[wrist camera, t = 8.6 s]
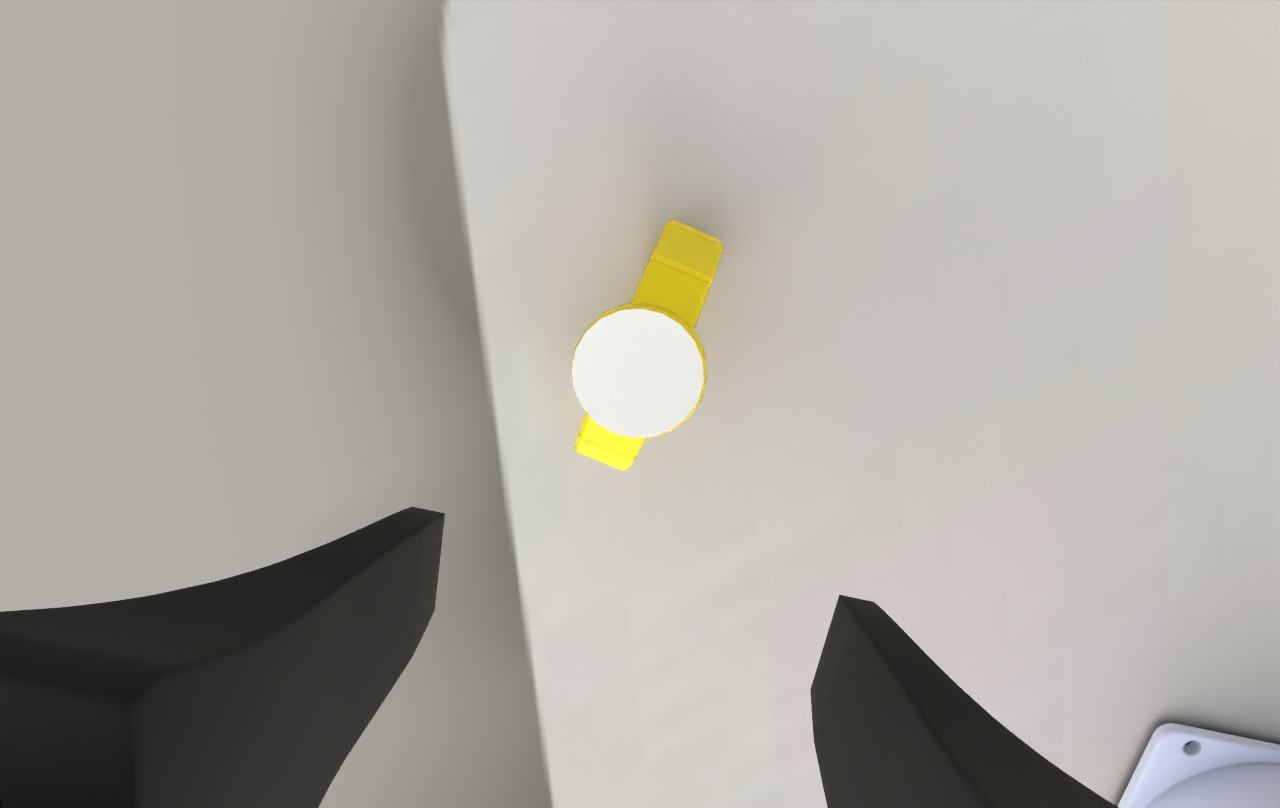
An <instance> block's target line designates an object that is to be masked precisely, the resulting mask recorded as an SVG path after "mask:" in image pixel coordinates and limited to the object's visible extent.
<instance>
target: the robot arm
mask: <svg viewBox="0 0 1280 808" xmlns="http://www.w3.org/2000/svg"><path fill="white" fill-rule="evenodd" d="M444 517H445V514H444V513H440V512H435V511H430V510H425V509H420V508H416V507H410V508H407V509H405V510H402V511H400V512H397V513H395V514H393V515H390V516H388V517H386V518H384V519H381V520H379V521H377V522H375V523H373V524H370V525H368V526H366V527H364V528H362V529H359V530H357V531H355V532H353V533H350V534H348V535H346V536H344V537H341V538H339V539H337V540H335V541H332V542H330V543H327V544H325V545H322V546H320V547H317V548H315V549H312V550H309V551H307V552H305V553H302V554H299V555H297V556H294V557H292V558H289V559H286V560H284V561H281V562H278V563H275V564H273V565H270V566H267V567H264V568H261V569H258V570H255V571H251V572H247V573H244V574H241V575H237V576H234V577H230V578H227V579H223V580H220V581H215V582H211V583H207V584H202V585H198V586H193V587H188V588H184V589H179V590H175V591H170V592H165V593H161V594H156V595H151V596H146V597H139V598H133V599H126V600H120V601H112V602H105V603H97V604H89V605H81V606H71V607H62V608H50V609H49V608H48V609H34V610H20V611H6V612H0V808H318V807H319V805H320V803H321V801H322V799H323V797H324V795H325V794H326V792H327V790H328V788H329V786H330V784H331V782H332V780H333V779H334V777H335V775H336V774H337V772H338V770H339V769H340V767H341V765H342V764H343V762H344V760H345V759H346V757H347V755H348V754H349V752H350V751H351V749H352V748H353V746H354V745H355V743H356V742H357V740H358V739H359V737H360V736H361V734H362V733H363V731H364V730H365V728H366V727H367V725H368V724H369V722H370V721H371V719H372V718H373V716H374V715H375V713H376V711H377V710H378V709H379V707H380V705H381V704H382V703H383V701H384V699H385V698H386V696H387V695H388V694H389V692H390V691H391V689H392V687H393V686H394V684H395V683H396V681H397V680H398V678H399V677H400V675H401V674H402V672H403V670H404V669H405V667H406V666H407V664H408V663H409V661H410V659H411V658H412V656H413V654H414V652H415V650H416V648H417V646H418V644H419V642H420V640H421V638H422V636H423V633H424V632H425V630H426V627H427V625H428V623H429V621H430V619H431V617H432V614H433V612H434V610H435V600H436V591H437V582H438V573H439V563H440V554H441V545H442V535H443V526H444ZM811 704H812V720H813V732H814V743H815V748H816V753H817V758H818V763H819V768H820V773H821V778H822V783H823V788H824V792H825V797H826V802H827V806H828V808H1280V745H1279V744H1274V743H1269V742H1265V741H1260V740H1255V739H1250V738H1245V737H1240V736H1235V735H1230V734H1225V733H1220V732H1215V731H1210V730H1205V729H1201V728H1196V727H1191V726H1186V725H1181V724H1176V723H1168V724H1164V725H1161V726H1160V727H1158V728H1157V729H1156V730H1155V731H1154V733H1153V734H1152V737H1151V739H1150V741H1149V743H1148V745H1147V747H1146V749H1145V751H1144V753H1143V755H1142V757H1141V759H1140V761H1139V763H1138V765H1137V767H1136V769H1135V771H1134V773H1133V776H1132V778H1131V780H1130V782H1129V784H1128V786H1127V788H1126V790H1125V792H1124V794H1123V796H1122V798H1121V800H1120V802H1119V804H1118V806H1115V805H1113V804H1112V803H1110V802H1109V801H1107V800H1105V799H1104V798H1102V797H1101V796H1099V795H1098V794H1096V793H1095V792H1093V791H1092V790H1090V789H1089V788H1087V787H1086V786H1084V785H1083V784H1081V783H1080V782H1078V781H1077V780H1075V779H1074V778H1072V777H1071V776H1069V775H1068V774H1066V773H1065V772H1063V771H1062V770H1060V769H1059V768H1058V767H1056V766H1055V765H1054V764H1052V763H1051V762H1049V761H1048V760H1047V759H1045V758H1044V757H1042V756H1041V755H1040V754H1038V753H1037V752H1036V751H1035V750H1033V749H1032V748H1031V747H1030V746H1028V745H1027V744H1026V743H1024V742H1023V741H1022V740H1021V739H1019V738H1018V737H1017V736H1015V735H1014V734H1013V733H1012V732H1010V731H1009V730H1008V729H1006V728H1005V727H1004V726H1003V725H1002V724H1001V723H999V722H998V721H997V720H996V719H995V718H993V717H992V716H991V715H990V714H989V713H988V712H987V711H985V710H984V709H983V708H982V707H981V706H980V705H979V704H978V703H977V702H975V701H974V700H973V699H972V698H971V697H970V696H969V695H968V694H967V693H965V692H964V691H963V690H962V689H961V688H960V687H959V686H958V685H957V684H956V683H955V682H954V681H953V680H952V679H951V678H950V677H949V676H948V675H946V674H945V673H944V672H943V671H942V670H941V669H940V668H939V667H938V666H937V665H936V664H935V663H934V662H933V661H932V660H931V659H930V658H929V657H928V656H927V655H926V654H925V652H924V651H923V650H922V649H921V648H920V647H919V646H918V645H917V644H916V643H915V642H914V641H913V640H912V639H911V638H910V637H909V636H908V635H907V634H906V633H905V632H904V631H903V630H902V629H901V628H900V627H899V626H898V625H897V624H896V623H895V622H894V621H893V620H892V619H891V618H890V617H889V616H888V615H887V614H886V613H885V612H884V611H883V610H882V609H881V608H880V607H879V606H878V605H877V604H875V603H874V602H871V601H866V600H861V599H857V598H852V597H847V596H842V595H839V598H838V602H837V605H836V608H835V611H834V615H833V618H832V621H831V625H830V628H829V631H828V634H827V638H826V641H825V644H824V647H823V651H822V654H821V657H820V661H819V664H818V667H817V670H816V674H815V677H814V680H813V684H812V687H811ZM1190 741H1192V742H1191V743H1190V744H1188V745H1185V744H1186V743H1188V742H1190Z"/></svg>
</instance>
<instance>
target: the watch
mask: <svg viewBox="0 0 1280 808" xmlns="http://www.w3.org/2000/svg"><path fill="white" fill-rule="evenodd" d="M722 250H723V248H722V243H721V240H720V239H719V238H716V237H714V236H712V235H709V234H707V233H705V232H702V231H700V230H698V229H695V228H693V227H691V226H688V225H686V224H684V223H681V222H679V221H677V220H674V219H673V220H670V221H668V223H667V224H666V225H665V227H664V230H663V232H662V234H661V236H660V238H659V241H658V243H657V245H656V247H655V249H654V252H653V254H652V256H651V258H650V261H649V263H648V265H647V267H646V270H645V272H644V274H643V277H642V279H641V282H640V284H639V286H638V289H637V291H636V293H635V296H634V298H633V300H632V303H631V304H624V305H621V306H618V307H616V308H614V309H611V310H609V311H606V312H605V313H603V314H602V315H601V316H600V317H599V318H598V319H596V320H595V321H594V322H593V323H592V324H591V325H590V326H589V327H588V328H587V329H586V331H585V332H584V334H583V336H582V337H581V339H580V341H579V342H578V344H577V346H576V348H575V353H574V357H573V362H572V367H571V369H572V379H573V388H574V391H575V393H576V395H577V397H578V400H579V402H580V404H581V406H582V408H583V409H584V410H585V411H586V412H587V413H586V416H585V418H584V421H583V423H582V426H581V429H580V431H579V434H578V437H577V440H576V443H575V449H576V452H578V453H581V454H583V455H586V456H588V457H591V458H593V459H595V460H598V461H600V462H603V463H605V464H607V465H610V466H612V467H615V468H617V469H620V470H622V471H624V470H627V469H628V468H629V467H630V466H631V464H632V463H633V461H634V460H635V458H636V456H637V455H638V453H639V451H640V449H641V447H642V445H643V443H644V441H645V439H646V437H656V436H658V435H661V434H664V433H666V432H669V431H672V430H674V429H675V428H677V427H678V426H679V425H680V424H682V423H683V422H684V421H686V420H687V419H688V418H689V417H690V416H691V415H692V413H693V412H694V410H695V409H696V407H697V406H698V404H699V403H700V401H701V399H702V396H703V392H704V388H705V385H706V380H707V374H706V357H705V352H704V349H703V347H702V344H701V342H700V339H699V337H698V335H697V334H696V332H695V331H694V327H695V325H696V322H697V320H698V317H699V315H700V312H701V310H702V307H703V305H704V302H705V299H706V297H707V294H708V292H709V289H710V285H711V283H712V281H713V278H714V275H715V272H716V269H717V266H718V263H719V260H720V257H721V254H722Z"/></svg>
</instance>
